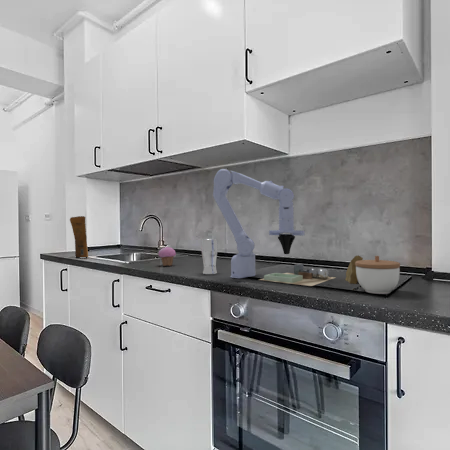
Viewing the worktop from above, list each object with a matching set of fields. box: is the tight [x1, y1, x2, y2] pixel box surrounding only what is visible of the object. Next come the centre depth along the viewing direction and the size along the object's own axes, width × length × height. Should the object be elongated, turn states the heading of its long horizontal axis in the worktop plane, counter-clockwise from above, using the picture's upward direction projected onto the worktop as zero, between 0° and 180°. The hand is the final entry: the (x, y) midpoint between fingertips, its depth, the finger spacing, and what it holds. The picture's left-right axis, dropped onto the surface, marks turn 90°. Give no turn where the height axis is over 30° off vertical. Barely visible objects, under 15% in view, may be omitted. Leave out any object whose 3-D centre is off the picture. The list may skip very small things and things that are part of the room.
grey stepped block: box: [293, 263, 307, 275], centre depth 127 cm, size 5×4×4 cm
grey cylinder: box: [306, 267, 329, 279], centre depth 123 cm, size 7×4×4 cm, turn 49°
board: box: [258, 272, 337, 287], centre depth 124 cm, size 21×20×1 cm
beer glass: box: [200, 238, 218, 275], centre depth 147 cm, size 7×7×15 cm
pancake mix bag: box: [69, 215, 89, 258], centre depth 226 cm, size 7×19×28 cm, turn 46°
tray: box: [263, 272, 303, 284], centre depth 122 cm, size 12×8×2 cm, turn 49°
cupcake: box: [158, 246, 177, 267], centre depth 175 cm, size 9×9×10 cm
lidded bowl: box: [355, 255, 401, 295], centre depth 104 cm, size 13×13×11 cm
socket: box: [298, 272, 312, 279], centre depth 126 cm, size 5×7×2 cm
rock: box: [345, 254, 364, 285], centre depth 117 cm, size 11×9×10 cm
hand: (286, 253), depth 132 cm, fingers closed
